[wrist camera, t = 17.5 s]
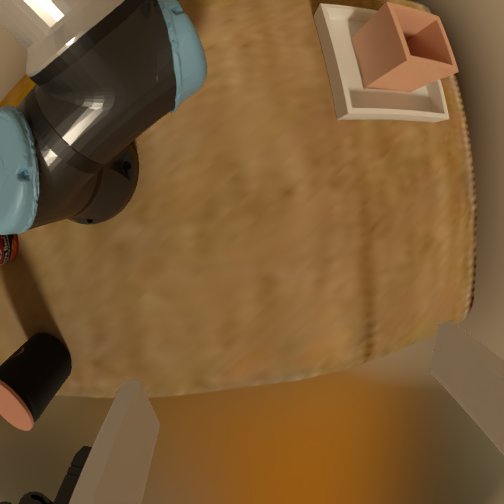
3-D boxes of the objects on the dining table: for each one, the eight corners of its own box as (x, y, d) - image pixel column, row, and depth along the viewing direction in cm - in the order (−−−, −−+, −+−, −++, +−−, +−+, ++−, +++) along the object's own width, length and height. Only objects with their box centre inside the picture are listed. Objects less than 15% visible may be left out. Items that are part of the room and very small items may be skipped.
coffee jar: (39, 320, 43) (-15, 367, 25) (80, 355, 45) (35, 414, 27) (28, 352, 44) (-17, 398, 27) (66, 383, 46) (28, 439, 29)
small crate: (363, 88, 36) (406, 60, 23) (350, 39, 34) (386, 1, 21) (409, 92, 36) (458, 71, 24) (397, 46, 34) (438, 16, 22)
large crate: (337, 119, 38) (348, 113, 34) (313, 16, 34) (320, 3, 29) (433, 122, 39) (449, 119, 34) (408, 29, 34) (420, 20, 30)
